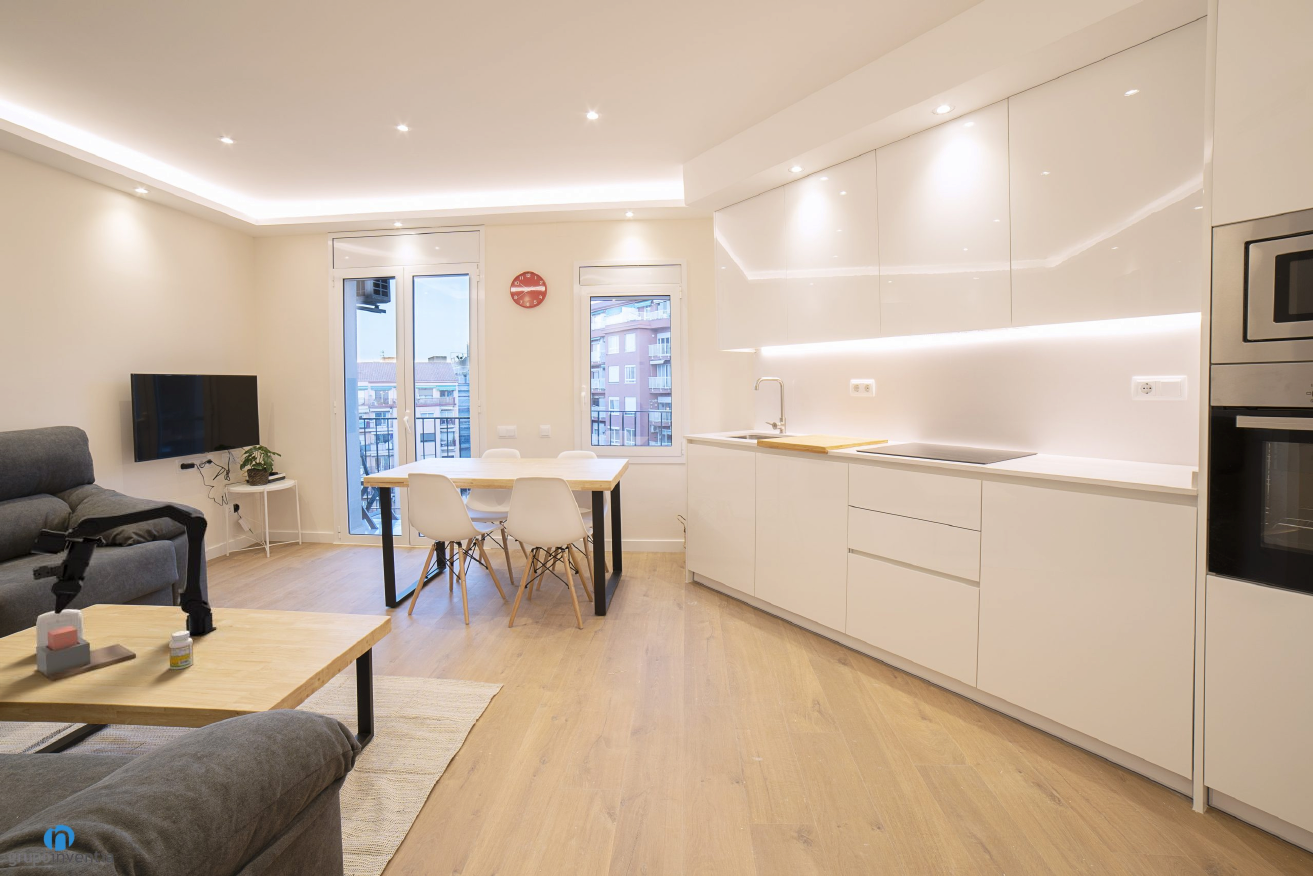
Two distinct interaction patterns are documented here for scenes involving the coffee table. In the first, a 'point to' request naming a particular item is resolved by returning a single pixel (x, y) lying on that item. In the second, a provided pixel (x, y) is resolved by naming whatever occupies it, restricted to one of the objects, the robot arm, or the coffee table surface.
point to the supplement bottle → (181, 650)
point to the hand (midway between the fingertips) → (58, 609)
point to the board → (97, 660)
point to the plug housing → (63, 657)
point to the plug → (62, 638)
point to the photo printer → (58, 623)
